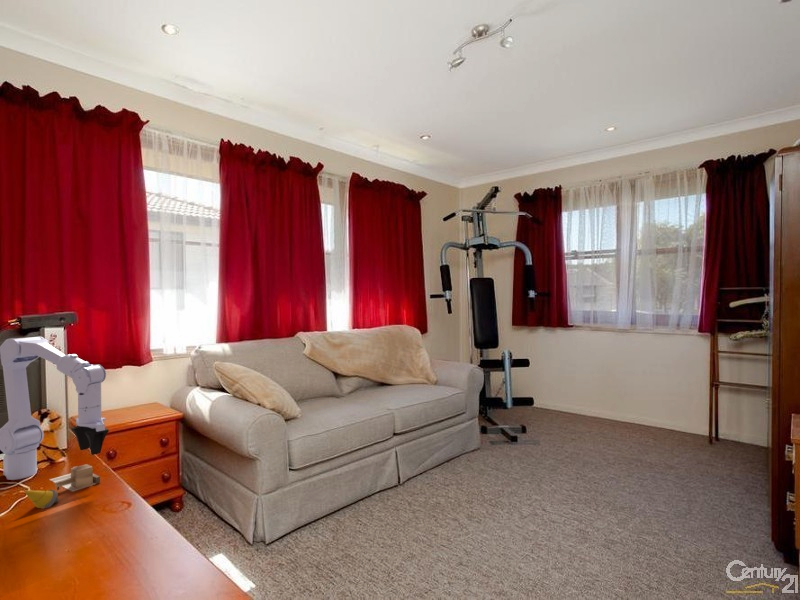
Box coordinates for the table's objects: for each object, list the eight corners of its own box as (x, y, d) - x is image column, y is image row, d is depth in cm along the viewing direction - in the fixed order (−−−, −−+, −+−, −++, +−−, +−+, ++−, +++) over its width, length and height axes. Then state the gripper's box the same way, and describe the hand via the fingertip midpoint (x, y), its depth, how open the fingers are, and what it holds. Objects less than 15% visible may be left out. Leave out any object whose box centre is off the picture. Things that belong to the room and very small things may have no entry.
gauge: (53, 491, 124) (52, 473, 124) (86, 480, 131) (86, 464, 131) (59, 494, 121) (58, 476, 121) (92, 483, 128) (92, 466, 128)
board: (49, 483, 132) (49, 473, 132) (76, 475, 138) (76, 466, 138) (72, 495, 123) (72, 485, 123) (100, 486, 129) (100, 476, 129)
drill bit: (62, 510, 115) (29, 495, 109) (44, 519, 116) (10, 504, 109) (69, 491, 120) (37, 476, 113) (51, 500, 120) (18, 485, 113)
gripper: (115, 406, 130) (116, 451, 130) (94, 400, 138) (94, 443, 138) (88, 411, 124) (89, 459, 124) (67, 405, 132) (68, 450, 132)
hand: (90, 451), depth 131 cm, fingers open, 7 cm apart
